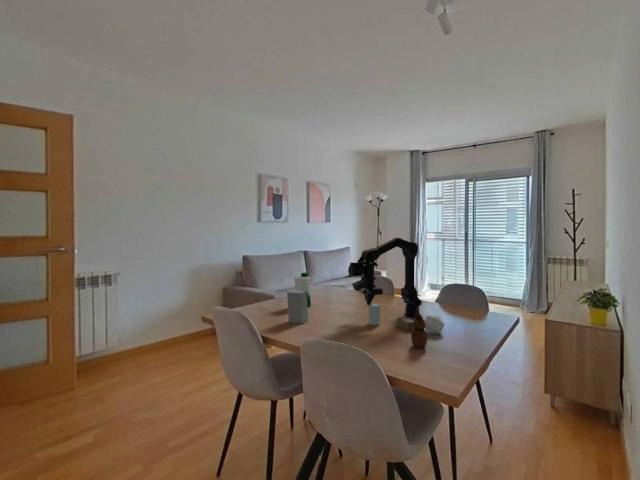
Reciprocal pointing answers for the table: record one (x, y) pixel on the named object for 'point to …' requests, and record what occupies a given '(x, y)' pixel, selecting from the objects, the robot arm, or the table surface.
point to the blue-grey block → (374, 314)
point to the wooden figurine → (419, 332)
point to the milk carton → (303, 285)
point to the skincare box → (297, 306)
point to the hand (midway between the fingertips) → (368, 305)
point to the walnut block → (405, 323)
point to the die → (433, 324)
